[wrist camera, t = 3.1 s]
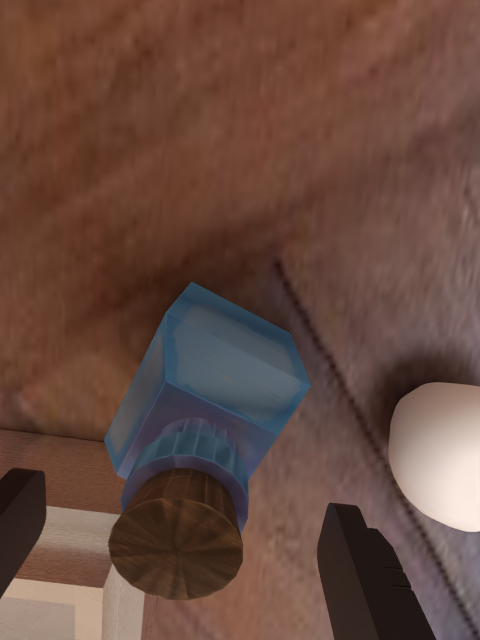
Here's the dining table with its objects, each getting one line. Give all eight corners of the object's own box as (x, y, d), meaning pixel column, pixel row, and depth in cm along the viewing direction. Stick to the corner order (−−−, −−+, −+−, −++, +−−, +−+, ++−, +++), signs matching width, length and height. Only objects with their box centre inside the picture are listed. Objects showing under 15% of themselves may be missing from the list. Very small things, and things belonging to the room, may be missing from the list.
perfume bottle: (290, 333, 19) (361, 511, 7) (238, 416, 20) (231, 670, 9) (191, 281, 18) (99, 391, 7) (145, 372, 20) (8, 588, 8)
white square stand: (-53, 422, 21) (-210, 529, 14) (171, 450, 21) (134, 569, 14) (-32, 583, 25) (-144, 732, 18) (156, 605, 25) (121, 758, 18)
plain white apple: (503, 367, 19) (673, 465, 12) (461, 468, 21) (583, 607, 14) (384, 351, 19) (479, 439, 11) (354, 454, 21) (417, 588, 13)
